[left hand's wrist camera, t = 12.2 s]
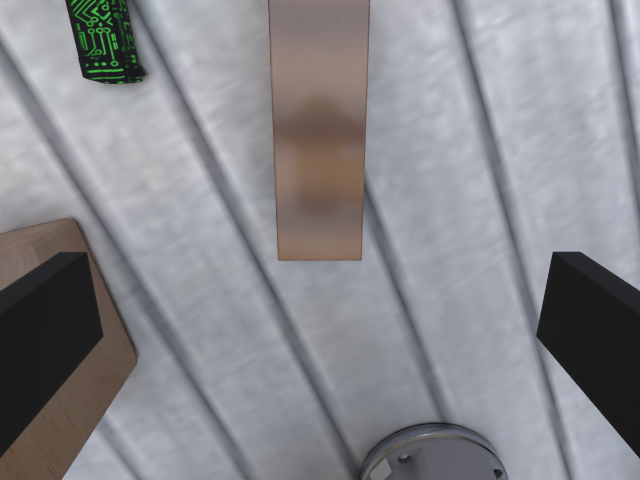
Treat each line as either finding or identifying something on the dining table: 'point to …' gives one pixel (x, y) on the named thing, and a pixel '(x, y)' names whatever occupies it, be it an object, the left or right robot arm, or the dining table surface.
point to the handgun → (105, 41)
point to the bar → (319, 125)
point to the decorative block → (84, 383)
